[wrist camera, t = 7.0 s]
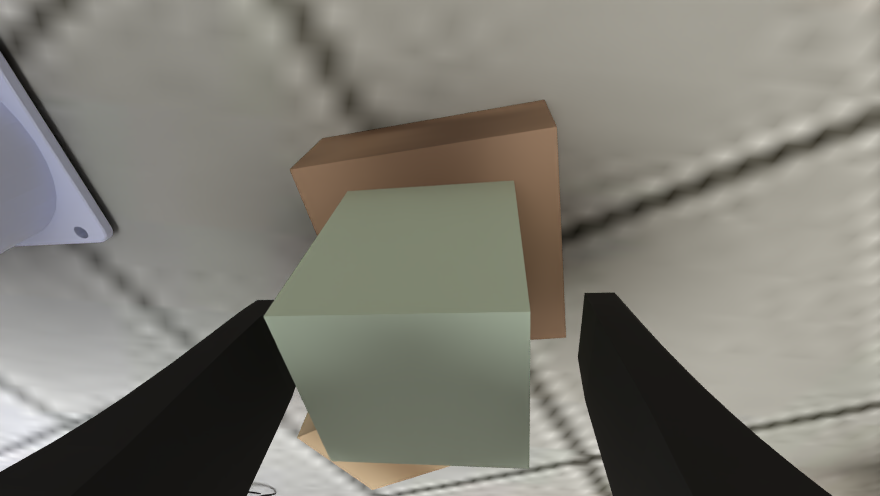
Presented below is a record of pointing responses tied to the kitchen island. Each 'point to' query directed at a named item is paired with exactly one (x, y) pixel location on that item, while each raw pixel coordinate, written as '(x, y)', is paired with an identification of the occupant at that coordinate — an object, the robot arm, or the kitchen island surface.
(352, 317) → the green block
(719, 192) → the kitchen island surface
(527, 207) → the walnut block
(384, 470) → the oak block
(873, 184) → the kitchen island surface
